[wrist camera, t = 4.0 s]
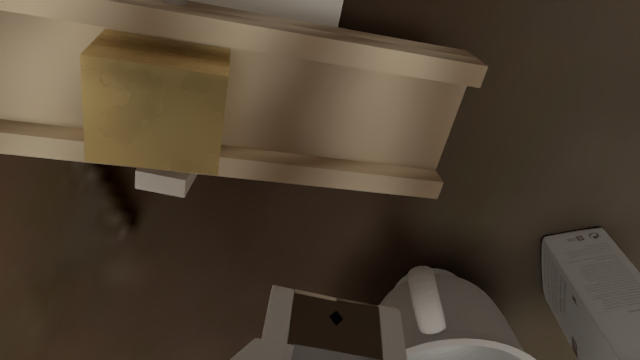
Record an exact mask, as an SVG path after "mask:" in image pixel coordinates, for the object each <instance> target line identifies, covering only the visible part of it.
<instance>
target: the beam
mask: <svg viewBox="0 0 640 360" xmlns="http://www.w3.org/2000/svg"><path fill="white" fill-rule="evenodd" d="M104 29H111V30H117V31H123V32H129V33H135V34H142V35H148V36H154V37H160V38H166V39H173V40H179V41H185V42H191V43H197V44H204V45H210V46H216V47H222V48H228V49H231V54H230V67H229V79H228V88H227V96H226V105H225V114H224V123H223V132H222V141H221V150H220V158H219V167H218V176H221V177H231V178H240V179H250V180H260V181H269V182H279V183H288V184H298V185H308V186H317V187H327V188H337V189H346V190H356V191H365V192H375V193H385V194H394V195H404V196H414V197H423V198H433V199H438V196H439V194H440V191H441V188H442V186H443V183H444V182H443V180H442V179H441V177H440V176H439V175H438V173H437V172H436V168H437V165H438V163H439V160H440V157H441V155H442V152H443V149H444V146H445V144H446V141H447V138H448V136H449V133H450V130H451V128H452V125H453V122H454V119H455V117H456V114H457V111H458V109H459V106H460V103H461V100H462V98H463V95H464V92H465V90H466V87H467V86H471V87H477V88H480V87H481V84H482V82H483V79H484V76H485V74H486V71H487V69H488V66H487V65H486V64H484V63H483V62H482V61H480V60H479V59H477V58H476V57H475V56H473V55H472V54H471V53H469V52H468V51H466V50H460V49H455V48H449V47H444V46H438V45H433V44H427V43H422V42H416V41H411V40H405V39H400V38H394V37H388V36H383V35H377V34H372V33H366V32H361V31H355V30H349V29H344V28H338V27H333V26H327V25H322V24H316V23H311V22H305V21H299V20H293V19H288V18H282V17H277V16H271V15H266V14H260V13H254V12H249V11H243V10H238V9H232V8H227V7H221V6H215V5H210V4H204V3H199V2H193V1H189V0H0V154H9V155H19V156H29V157H38V158H48V159H58V160H67V161H77V162H85V157H84V135H83V112H82V90H81V67H80V54H81V53H82V52H83V51H84V50H85V49H86V48H87V47H88V46H89V45H90V44H91V43H92V41H93V40H94V39H95V38H96V37H97V36H98V35H99V34H100V33H101V32H102V31H103V30H104ZM86 163H93V162H86ZM96 164H102V163H96ZM106 165H112V164H106ZM115 166H122V165H115ZM125 167H131V166H125ZM135 168H141V167H135ZM144 169H150V168H144ZM154 170H160V169H154ZM163 171H170V170H163ZM173 172H179V171H173ZM183 173H189V172H183ZM192 174H198V173H192ZM202 175H208V174H202ZM212 176H217V175H212Z"/></svg>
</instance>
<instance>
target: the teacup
mask: <svg viewBox="0 0 640 360" xmlns="http://www.w3.org/2000/svg"><path fill="white" fill-rule="evenodd" d="M380 305H381V306H386V307H392V308H398V309H399V311H400V313H401V320H402V327H403V334H404V340H405V347H406V354H407V360H536V359H534V358H533V357H532V356H530V355H528V354H527V353H525V352H524V350H523V349H522V347H521V345H520V344H519V342H518V340H517V338H516V337H515V335H514V333H513V332H512V330H511V328H510V326H509V325H508V323H507V321H506V319H505V318H504V316H503V314H502V313H501V312H500V310H499V309H498V307H497V306H496V304H495V303H494V302H493V300H492V299H491V298H490V297H489V296H488V295H487V294H486V293H485V292H484V291H483V290H481V289H480V288H479V287H477V286H476V285H474V284H473V283H471V282H469V281H467V280H464V279H462V278H458V277H457V276H456V275H454V274H453V273H451V272H449V271H446V270H443V269H437V268H430V267H429V266H417V267H414V268H412V269H411V270H410V271H409V272H408V274H407V275H406V276H404V277H403V278H402V279H401V280H400V281H399V282H398V283H397V284H396V286H395V287H394V289H393V290H392V291H390V292H389V293H388V294H387V295H386V297H385V298H384V299H383V301H382V302H381V303H380Z"/></svg>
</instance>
